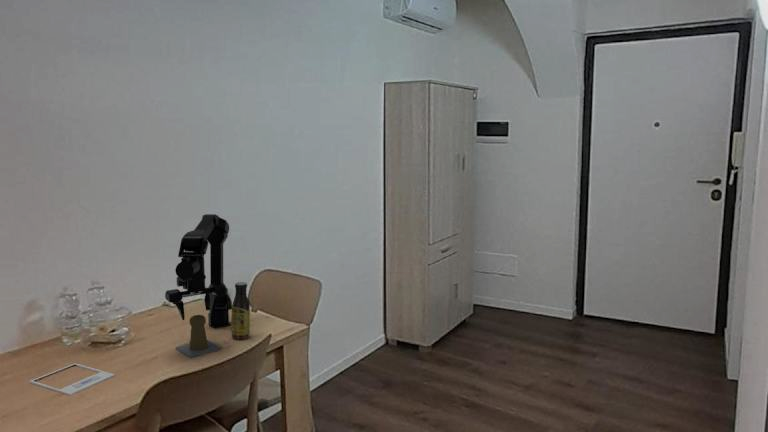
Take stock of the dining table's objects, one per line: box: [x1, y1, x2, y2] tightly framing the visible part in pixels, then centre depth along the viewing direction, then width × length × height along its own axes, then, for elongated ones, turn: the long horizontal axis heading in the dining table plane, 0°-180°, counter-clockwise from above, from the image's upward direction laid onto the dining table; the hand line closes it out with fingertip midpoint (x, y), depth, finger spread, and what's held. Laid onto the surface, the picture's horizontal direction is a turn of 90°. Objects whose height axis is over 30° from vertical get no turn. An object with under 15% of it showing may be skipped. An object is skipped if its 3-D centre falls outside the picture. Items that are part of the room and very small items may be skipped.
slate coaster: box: [175, 339, 223, 359], centre depth 195 cm, size 11×11×1 cm
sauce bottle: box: [231, 281, 251, 340], centre depth 205 cm, size 7×6×20 cm
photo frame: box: [28, 363, 116, 396], centre depth 171 cm, size 15×1×18 cm
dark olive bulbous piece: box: [189, 314, 208, 351], centre depth 194 cm, size 6×6×11 cm
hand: (197, 317), depth 193 cm, fingers open, 9 cm apart
